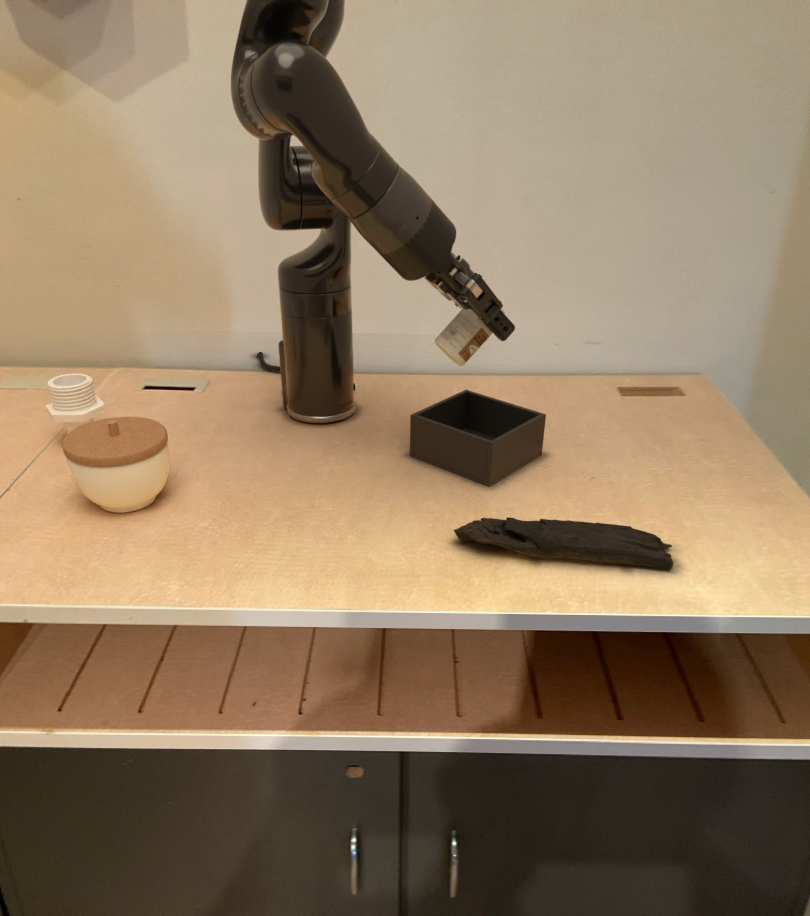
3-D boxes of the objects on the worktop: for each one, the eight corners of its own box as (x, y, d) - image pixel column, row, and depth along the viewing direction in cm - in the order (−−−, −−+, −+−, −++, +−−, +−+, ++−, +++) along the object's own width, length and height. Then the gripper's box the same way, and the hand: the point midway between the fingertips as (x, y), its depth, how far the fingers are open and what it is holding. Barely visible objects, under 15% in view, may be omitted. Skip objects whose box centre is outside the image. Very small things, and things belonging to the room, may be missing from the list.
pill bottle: (462, 366, 88) (510, 313, 87) (432, 339, 88) (480, 285, 87) (460, 368, 92) (506, 318, 91) (433, 343, 92) (478, 291, 91)
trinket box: (85, 532, 82) (65, 451, 77) (70, 489, 90) (51, 412, 85) (187, 509, 87) (175, 431, 82) (164, 470, 95) (152, 396, 90)
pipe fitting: (63, 455, 98) (48, 394, 93) (51, 435, 103) (36, 376, 98) (115, 444, 100) (103, 384, 96) (100, 424, 106) (88, 367, 101)
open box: (409, 455, 98) (410, 414, 95) (464, 428, 106) (466, 389, 103) (489, 486, 92) (492, 443, 89) (541, 455, 99) (546, 414, 96)
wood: (666, 534, 83) (671, 509, 81) (678, 573, 77) (684, 547, 75) (456, 520, 85) (457, 495, 84) (450, 556, 79) (452, 530, 78)
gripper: (455, 204, 74) (553, 320, 85) (400, 183, 86) (492, 287, 96) (402, 267, 75) (505, 373, 86) (354, 238, 87) (450, 335, 97)
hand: (497, 327), depth 91 cm, fingers closed on pill bottle, 4 cm apart
